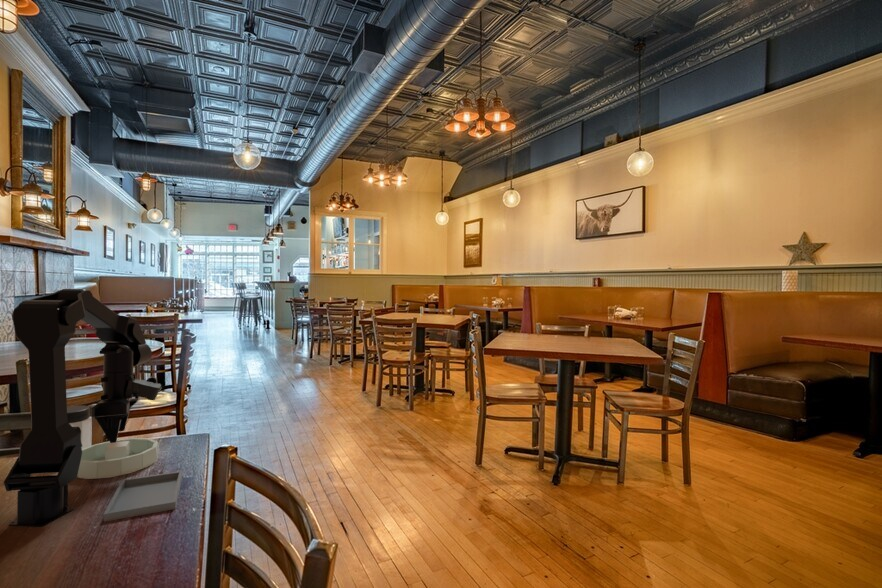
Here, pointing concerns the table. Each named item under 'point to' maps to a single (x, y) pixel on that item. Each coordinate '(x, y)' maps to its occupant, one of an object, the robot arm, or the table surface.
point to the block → (117, 450)
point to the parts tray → (144, 496)
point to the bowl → (97, 467)
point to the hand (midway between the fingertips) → (117, 436)
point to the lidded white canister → (81, 422)
